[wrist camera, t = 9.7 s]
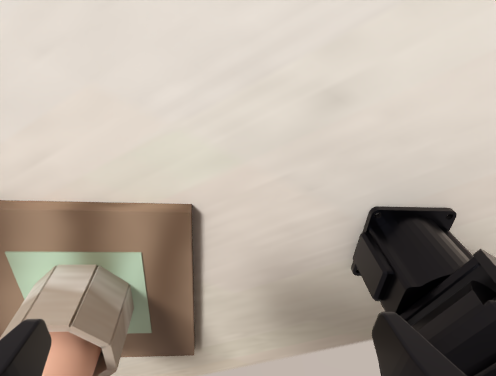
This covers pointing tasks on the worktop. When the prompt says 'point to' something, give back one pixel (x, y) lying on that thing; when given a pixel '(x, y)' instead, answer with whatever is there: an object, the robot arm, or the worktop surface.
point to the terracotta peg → (71, 356)
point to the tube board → (113, 236)
